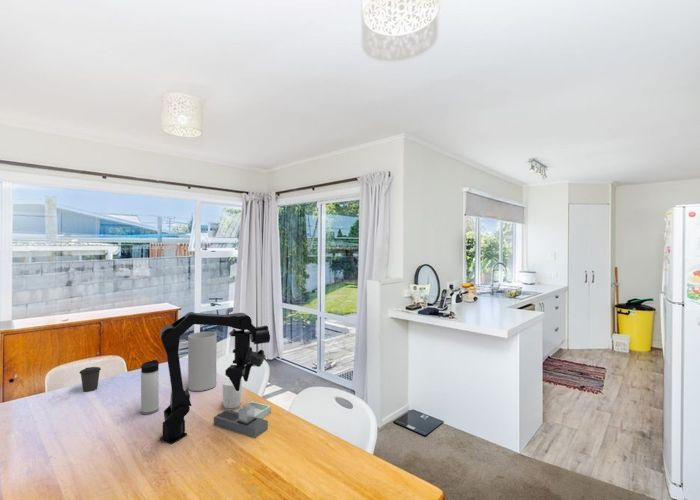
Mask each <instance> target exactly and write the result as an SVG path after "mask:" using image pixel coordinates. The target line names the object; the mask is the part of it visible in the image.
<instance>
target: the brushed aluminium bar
mask: <svg viewBox="0 0 700 500" xmlns="http://www.w3.org/2000/svg"><path fill="white" fill-rule="evenodd" d="M238 409H239V423H240V424H243V425H246V426H248V425H249V424H251V423H252V422H254V421H255V406H252V405H248V403H246V404H244V405H242V406H241V407H239V408H238Z"/></svg>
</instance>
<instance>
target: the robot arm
mask: <svg viewBox="0 0 700 500" xmlns="http://www.w3.org/2000/svg"><path fill="white" fill-rule="evenodd" d="M195 325H200V326H202V325H204V326H220V327H221V326H224V327H229V328H231V329H232V328H233V329H232V330H231V331H230V332H229V333H228V335H229V336H230V337H231V338H232V337H233V338H234V349H233V350H232V353H233V354H234V359H233V360H232V364H231V365H230V366H228V367H227V368H226V369H225V374H224V375H225V376H226V377H227V378H228V379H230V380H231V382H232V384H233V386H234V388H235V389H236V391H239V390H240V384H241V380H242V378H243V381H244V382H248V381H249V380H248V379H249V376H250V373H251V369H252V367H253V366H255V367H258V368H260V367H261V365H263V362H264V360H265V359H266V355H265V352H264V350H263V349H259V350H258V351H253V347H252V346H251V343H253V345H262V344H267V343H268V344H269V343H270V341H271V335H270V334H271V333H270V330H269V326H268V325H262V326H255V325H254V324H253V323H252V318H251V317H250V316H249V315H248V314H246V313H245V312H235V313H230V314H217V313H203V312H202V313H201V312H193V311H190V312H187V313H186V314H185V315H183V316H182V317H180V318H178V319H177V320H175V321H173V322H172V323H171V324H166V325H164V326H162V328H161V330H160V331H159V333H160V334H159V335H160V339H161V342H162V345H163V349H164V351H165V353H166V359H167V365H168V373H169V379H170V388H171V392H170V399H169V400H170V401H169V402H170V403H169V405H168V406H167V407H166V408H165V410H163V416H164V421H163V422H162V436H161V437H159V440H160V441H162V442H165V443H168V444H174V443H175V442H178V441H179V440H181V439H183V438H185V437H186V436H188V433H187V432H186V420H185V417H186V416H187V414H188V413H189V412H190V407H192V403H191V393H190V390H189V388H187V389H184V385H183V377H182V370H181V369H182V368H181V363H180V356H179V348H180V347H179V346H180V339H181V338H180V337H181V336H182V335H184V334H185V333H186V332H187V331H188V330H189V329H190V328H191V327H192V326H195Z"/></svg>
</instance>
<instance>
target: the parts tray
mask: <svg viewBox="0 0 700 500" xmlns="http://www.w3.org/2000/svg"><path fill="white" fill-rule="evenodd" d="M247 404H248V405H252V406H255V417H257V418H260V419H264V418H265V417H267V416H268V415H269V414H271V413H272V412H271V411H272V406H271V405H269V404H265V403H264V404H263V403H260V402H257V401H253V400H251V401H250V402H247ZM235 411H236V412H239V408H238V409H236V410H235Z"/></svg>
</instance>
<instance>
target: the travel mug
mask: <svg viewBox="0 0 700 500" xmlns="http://www.w3.org/2000/svg"><path fill="white" fill-rule="evenodd" d="M159 366H160V365H159V361H158V360H157V359H152V360H149V361H146V362H144V363H142V364H141V368H140V371H141V372H140V413H141V414H142V415H152V414H155V413H156V412H158V411H159V409H160V406H159V404H160V397H159V393H160V391H159V390H160V383H159V382H160V381H159V380H160V369H159Z"/></svg>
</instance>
